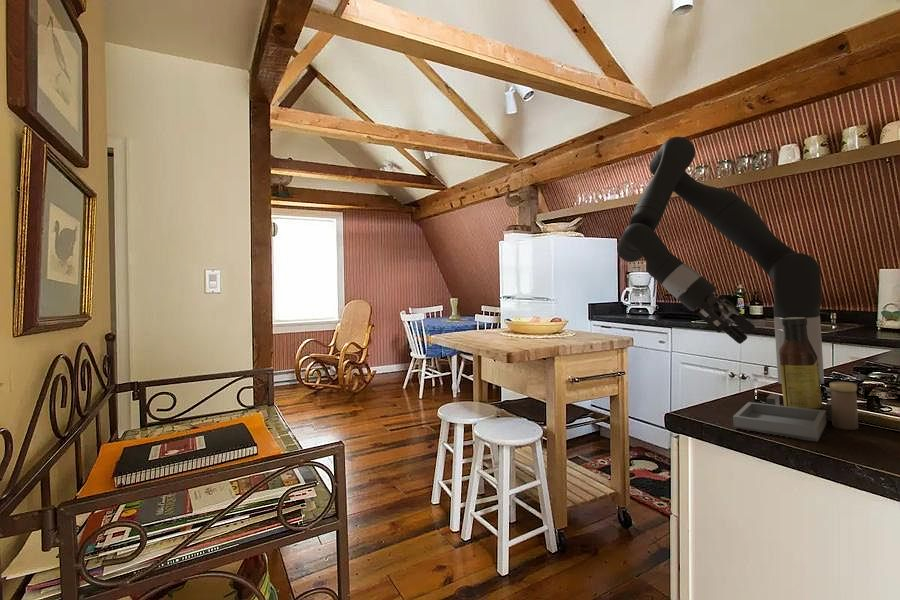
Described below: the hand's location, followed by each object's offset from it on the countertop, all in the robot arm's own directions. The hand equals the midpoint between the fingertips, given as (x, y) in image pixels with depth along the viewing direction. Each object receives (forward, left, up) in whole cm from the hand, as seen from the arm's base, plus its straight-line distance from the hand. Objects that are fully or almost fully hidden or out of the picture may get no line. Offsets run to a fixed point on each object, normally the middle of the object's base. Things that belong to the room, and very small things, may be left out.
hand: (748, 335), depth 98 cm
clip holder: (+2, +9, -16) cm, 18 cm away
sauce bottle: (+2, +9, -16) cm, 18 cm away
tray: (+13, +7, -16) cm, 22 cm away
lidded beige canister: (+7, +16, -16) cm, 24 cm away
